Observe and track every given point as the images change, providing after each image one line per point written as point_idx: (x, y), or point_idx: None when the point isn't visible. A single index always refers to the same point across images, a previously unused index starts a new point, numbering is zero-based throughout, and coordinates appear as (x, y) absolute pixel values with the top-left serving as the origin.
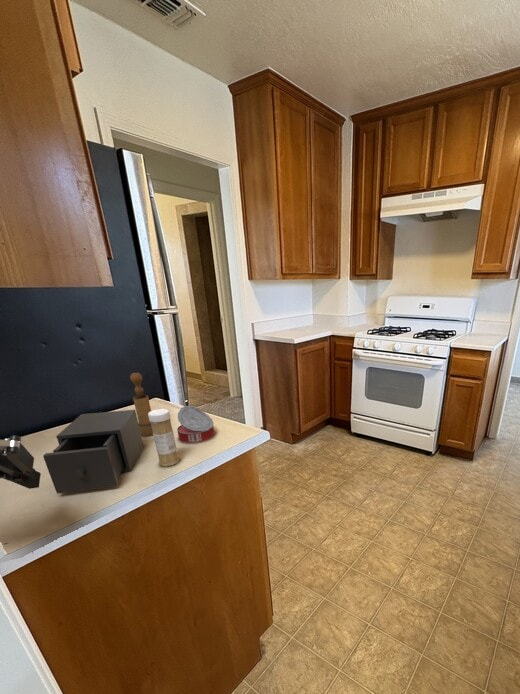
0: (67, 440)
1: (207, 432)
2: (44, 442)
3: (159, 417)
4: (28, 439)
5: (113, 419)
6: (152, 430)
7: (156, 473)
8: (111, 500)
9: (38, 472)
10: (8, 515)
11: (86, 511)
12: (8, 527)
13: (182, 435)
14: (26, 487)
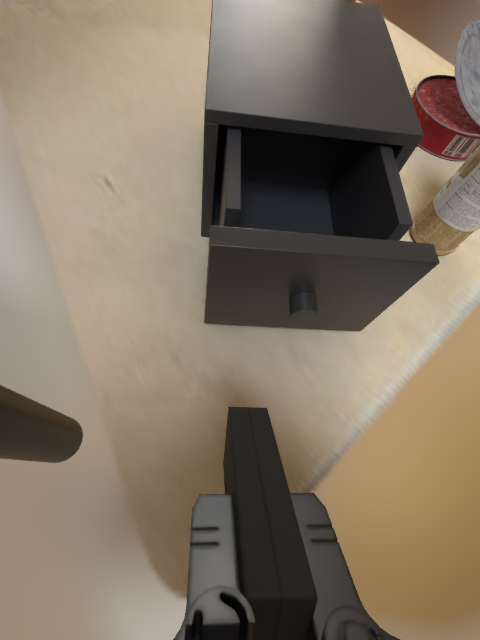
0: (240, 138)
1: None
2: (68, 37)
3: None
4: (23, 11)
5: (349, 49)
6: None
7: (421, 280)
8: (360, 391)
9: (268, 418)
10: (95, 388)
11: (314, 434)
12: (118, 462)
13: (436, 130)
14: (224, 479)
